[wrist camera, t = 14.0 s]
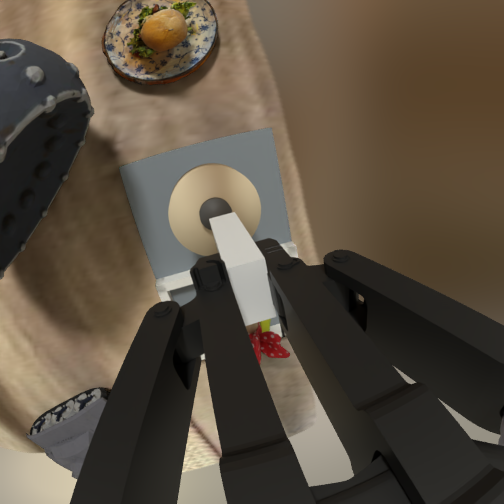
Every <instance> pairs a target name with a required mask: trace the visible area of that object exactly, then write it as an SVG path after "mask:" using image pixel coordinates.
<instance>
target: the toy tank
mask: <svg viewBox="0 0 504 504" xmlns="http://www.w3.org/2000/svg"><path fill="white" fill-rule="evenodd" d="M109 395H110V393H109V392H108V391H106V390H105V389H104V388H93V389H90V390H87V391H85V392H82V393H80V394H78V395H76V396H74V397H73V398H71V399H69V400H67V401H65V402H63V403H61V404H59V405H57V406H55V407H54V408H52V409H50V410H48V411H47V412H45V413H44V414H42V415H41V416H40V417H39V418H38V419H37V420H36V421H35V422H34V423H33V425H32V427H31V430H30V435H28V434H27V433H26V436H27V438H29V439H30V440H31V441H33V442H34V443H36V444H37V445H39V446H40V447H42V448H43V449H44V450H45V453H46V455H47V456H48V457H49V458H51V459H52V460H53V461H55V462H56V463H57V464H59V465H61V466H63V467H64V468H66V469H68V470H70V471H72V477H74V478H76V479H78V477H79V474H80V471H81V468H82V465H83V462H84V459H85V456H86V454H87V451H88V448H89V445H90V443H91V440H92V437H93V435H94V432H95V429H96V427H97V424H98V422H99V419H100V417H101V414H102V412H103V409H104V407H105V404H106V402H107V399H108V397H109Z"/></svg>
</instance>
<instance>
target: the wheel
mask: <svg viewBox="0 0 504 504" xmlns="http://www.w3.org/2000/svg"><path fill="white" fill-rule="evenodd" d="M233 212H235V213H236V215H237V216H238V218H239V219H240V221H241V222H242V224H243V225H244V227H245V229H246V230H247V232H248V233H249V235H250V236H251V237H252V236H253V235H254V233H255V231H256V230H257V227H258V225H259V221H260V216H261V203H260V198H259V195H258V193H257V190H256V189H255V187H254V185H253V184H252V183H251V182H250V180H249V179H247V178H246V177H245V176H244V175H243V174H241V173H240V172H238V171H237V170H235V169H233V168H232V167H229V166H227V165H223V164H218V163H207V164H202V165H199V166H196V167H194V168H192V169H190V170H189V171H187V172H186V173H185V174H184V175H183V176H182V177H181V178H180V179H179V180H178V181H177V183H176V184H175V186H174V188H173V191H172V194H171V197H170V203H169V209H168V216H169V223H170V227H171V229H172V232H173V234H174V235H175V237H176V238H177V240H178V241H179V242H180V243H181V244H182V245H183V246H184V247H186V248H187V249H188V250H190V251H192V252H194V253H196V254H199V255H203V256H209V255H212V254H216V253H218V251H217V247H216V243H215V240H214V236H213V232H212V228H211V225H210V221H209V219H210V218H214V217H218V216H221V215H225V214H229V213H233Z"/></svg>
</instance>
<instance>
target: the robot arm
mask: <svg viewBox="0 0 504 504" xmlns="http://www.w3.org/2000/svg"><path fill="white" fill-rule="evenodd" d="M209 221H210V225H211V228H212V232H213V236H214V240H215V243H216V247H217V251H218V253H216V254H212V255H209V256H205V257H202V258H199V259H198V261H197V262H196V264H195V265H194V266H193V267H192V268H191V269H190V275H191V278H192V281H193V284H194V287H195V290H196V297H195V298H194V299H193V300H191V301H190V302H188V303H187V304H185V305H183V306H181V307H180V305H179V304H178V303H177V302H175V301H164V302H159V303H157V304H155V305H154V306H153V307H151V308H150V309H149V310H148V312H147V313H146V315H145V317H144V319H143V321H142V323H141V325H140V327H139V329H138V332H137V334H136V336H135V338H134V340H133V342H132V344H131V347H130V349H129V351H128V353H127V355H126V358H125V360H124V362H123V364H122V367H121V369H120V371H119V373H118V376H117V378H116V380H115V383H114V385H113V387H112V390H111V392H110V395H109V397H108V399H107V402H106V404H105V407H104V409H103V412H102V414H101V417H100V419H99V422H98V424H97V427H96V429H95V432H94V435H93V437H92V440H91V443H90V445H89V448H88V451H87V454H86V456H85V459H84V462H83V465H82V468H81V471H80V474H79V477H78V480H77V483H76V486H75V489H74V492H73V495H72V498H71V502H70V504H177V500H178V493H179V487H180V479H181V474H182V468H183V462H184V455H185V449H186V444H187V438H188V432H189V426H190V420H191V415H192V409H193V404H194V398H195V393H196V387H197V382H198V377H199V371H200V366H201V355H203V354H204V355H205V361H206V368H207V374H208V380H209V386H210V392H211V397H212V403H213V409H214V414H215V419H216V425H217V430H218V435H219V440H220V445H221V449H222V457H221V458H220V460H219V466H220V473H221V477H222V482H223V487H224V491H225V496H226V500H227V504H504V326H503V325H502V324H500V323H498V322H496V321H494V320H492V319H490V318H488V317H487V316H485V315H483V314H481V313H479V312H477V311H475V310H473V309H471V308H469V307H467V306H465V305H463V304H461V303H459V302H457V301H455V300H453V299H451V298H450V297H447V296H446V295H443V294H441V293H439V292H437V291H435V290H433V289H431V288H429V287H427V286H425V285H423V284H421V283H419V282H417V281H415V280H413V279H411V278H409V277H406V276H404V275H402V274H400V273H398V272H396V271H394V270H392V269H389V268H387V267H385V266H383V265H381V264H379V263H377V262H374V261H372V260H370V259H368V258H366V257H363V256H361V255H359V254H357V253H355V252H352V251H349V250H335V251H333V252H330V253H328V254H327V255H325V257H324V264H322V265H313V266H307V265H306V264H305V263H304V262H303V261H302V260H301V259H299V258H296V257H290V255H289V254H288V253H287V252H286V251H285V250H284V249H283V247H282V246H281V245H280V244H279V243H278V241H277V240H274V239H271V238H267V239H263V240H260V241H256V242H254V241H253V239H252V238H251V236H250V235H249V233H248V232H247V230H246V229H245V227H244V225H243V224H242V222H241V221H240V219H239V218H238V216H237V215H236V213H235V212H233V213H229V214H225V215H221V216H218V217H214V218H210V219H209ZM359 294H360V295H361V296H363V298H364V302H362V301H360V300H359ZM275 309H276V311H277V312H278V316H279V322H280V327H281V332H282V338H283V337H285V335H286V336H287V338H288V340H289V342H290V344H291V346H292V348H293V350H294V352H295V354H296V356H297V358H298V360H299V362H300V364H301V366H302V368H303V370H304V371H305V373H306V375H307V377H308V379H309V381H310V383H311V385H312V387H313V389H314V391H315V393H316V395H317V397H318V398H319V400H320V402H321V404H322V406H323V408H324V410H325V412H326V414H327V416H328V418H329V419H330V421H331V423H332V425H333V427H334V429H335V431H336V433H337V435H338V437H339V439H340V441H341V442H342V444H343V446H344V448H345V450H346V452H347V454H348V456H349V459H350V461H351V466H352V470H353V473H354V477H352V478H351V479H349V480H347V481H343V482H338V483H332V484H325V485H319V486H311V487H309V486H308V483H307V481H306V479H305V477H304V474H303V472H302V469H301V467H300V464H299V462H298V459H297V457H296V454H295V452H294V449H293V447H292V445H291V443H290V441H289V439H288V438H287V436H286V434H285V431H284V428H283V426H282V423H281V421H280V418H279V416H278V413H277V410H276V408H275V405H274V402H273V400H272V397H271V395H270V392H269V389H268V387H267V384H266V381H265V379H264V376H263V373H262V370H261V368H260V365H259V362H258V359H257V357H256V354H255V351H254V348H253V346H252V343H251V340H250V337H249V335H248V332H247V329H246V326H247V325H251V324H254V323H257V322H261V321H264V320H267V319H270V318H274V317H276V312H275ZM393 366H395V367H396V368H398V369H399V370H400V371H401V372H403V373H404V374H406V375H407V376H408V377H410V378H411V379H413V380H414V381H415V382H417V383H414V384H409V383H407V382H406V381H405V380H404V379H403V378H402V377H401V375H400V374H399V373H398V372H397V370H396V369H395V368H394V367H393ZM438 398H439V399H440V400H441V401H443V402H444V403H445V404H447V405H448V406H450V407H451V408H452V409H454V410H455V411H456V412H458V413H459V414H461V415H462V416H463V417H465V418H466V419H468V420H469V421H471V422H472V423H474V424H476V425H477V426H479V427H481V428H484V429H486V430H488V431H490V432H493V433H496V434H500V435H501V437H500V438H499V445H496V444H491V443H487V442H482V441H477V440H473V439H471V438H470V437H469V436H468V434H467V433H466V432H465V431H464V430H463V428H462V427H461V426H460V425H459V423H458V422H457V421H456V420H455V418H454V417H453V416H452V415H451V414H450V412H449V411H448V410H447V409H446V408H445V406H444V405H443V404H442V403H441V402H440V401H439V399H438Z"/></svg>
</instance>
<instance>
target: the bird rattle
mask: <svg viewBox="0 0 504 504" xmlns="http://www.w3.org/2000/svg"><path fill="white" fill-rule="evenodd" d="M270 322H271V318H270V319H267V320H264V321H261V322H257V323H254V324H251V325H247V326H246V329H247V332H248V335H249V337H250V340H251V343H252V346H253V348H254V351H255V354H256V357H257V359H258V362H259V365H260V362H261V352H263V353H264V354H266V355H267V356H268V357H271V358H287V357H289V356H290V353H289V352H288V351H287V350H285V349H284V348H283V347H281V345H280V342H281V337H280V336H279V335H278V334H276V333H274V332H272V331H270Z"/></svg>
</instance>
